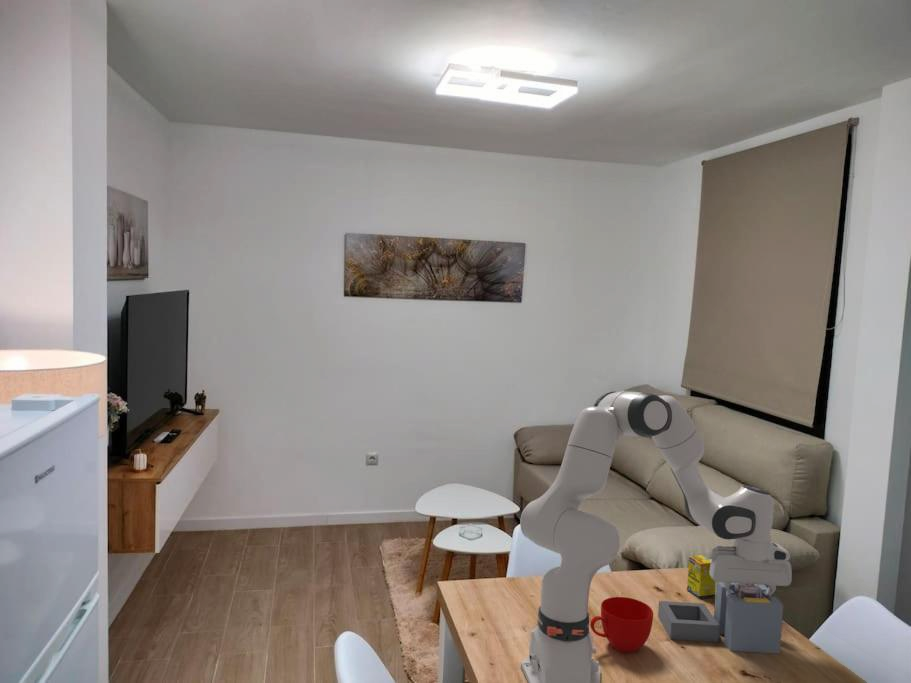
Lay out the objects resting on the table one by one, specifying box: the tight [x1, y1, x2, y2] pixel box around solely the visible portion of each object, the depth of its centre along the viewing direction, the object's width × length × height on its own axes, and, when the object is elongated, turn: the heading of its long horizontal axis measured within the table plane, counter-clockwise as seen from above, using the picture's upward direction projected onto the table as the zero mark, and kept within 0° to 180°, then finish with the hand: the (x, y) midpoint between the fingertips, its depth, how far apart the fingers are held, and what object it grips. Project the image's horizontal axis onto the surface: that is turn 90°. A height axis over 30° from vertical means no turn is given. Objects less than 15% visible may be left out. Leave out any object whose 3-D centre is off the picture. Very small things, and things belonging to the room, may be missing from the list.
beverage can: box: [734, 583, 759, 599], centre depth 176 cm, size 6×6×15 cm
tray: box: [657, 600, 720, 643], centre depth 181 cm, size 12×12×4 cm
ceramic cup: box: [589, 596, 654, 654], centre depth 170 cm, size 13×17×10 cm
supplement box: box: [686, 554, 716, 600], centre depth 203 cm, size 6×6×11 cm
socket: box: [713, 582, 784, 655], centre depth 176 cm, size 12×12×13 cm
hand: (748, 598), depth 176 cm, fingers open, 8 cm apart
